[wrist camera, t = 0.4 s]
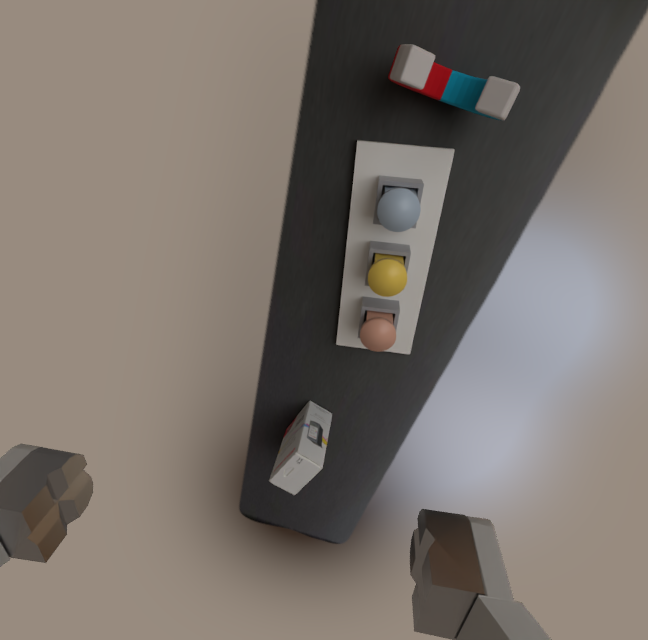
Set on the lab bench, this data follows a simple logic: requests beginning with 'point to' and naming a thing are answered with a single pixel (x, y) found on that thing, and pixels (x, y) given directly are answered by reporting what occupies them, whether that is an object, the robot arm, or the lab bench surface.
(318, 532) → the lab bench surface
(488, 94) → the magnet
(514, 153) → the lab bench surface
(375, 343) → the terracotta button
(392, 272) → the ochre button
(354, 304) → the console
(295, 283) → the lab bench surface
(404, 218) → the slate button
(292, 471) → the ink box
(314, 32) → the lab bench surface
